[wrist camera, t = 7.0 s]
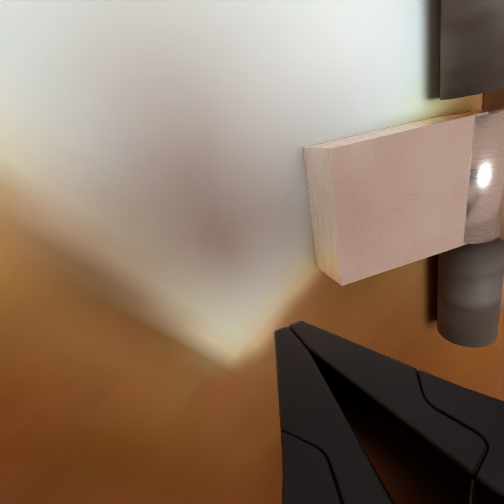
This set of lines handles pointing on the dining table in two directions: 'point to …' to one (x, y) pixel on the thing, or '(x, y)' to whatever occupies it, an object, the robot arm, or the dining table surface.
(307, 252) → the dining table surface
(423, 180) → the pale pink block
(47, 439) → the dining table surface
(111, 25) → the dining table surface
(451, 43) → the striped wooden board
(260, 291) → the dining table surface
